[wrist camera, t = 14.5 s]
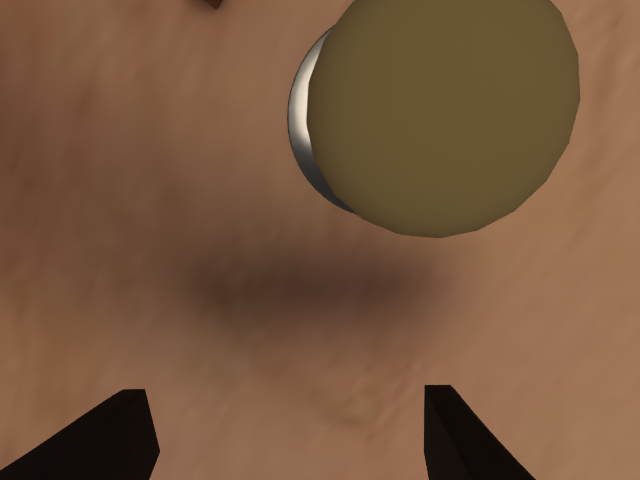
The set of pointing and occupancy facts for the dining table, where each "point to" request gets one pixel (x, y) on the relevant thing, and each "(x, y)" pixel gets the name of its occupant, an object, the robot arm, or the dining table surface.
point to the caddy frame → (214, 3)
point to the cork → (442, 109)
